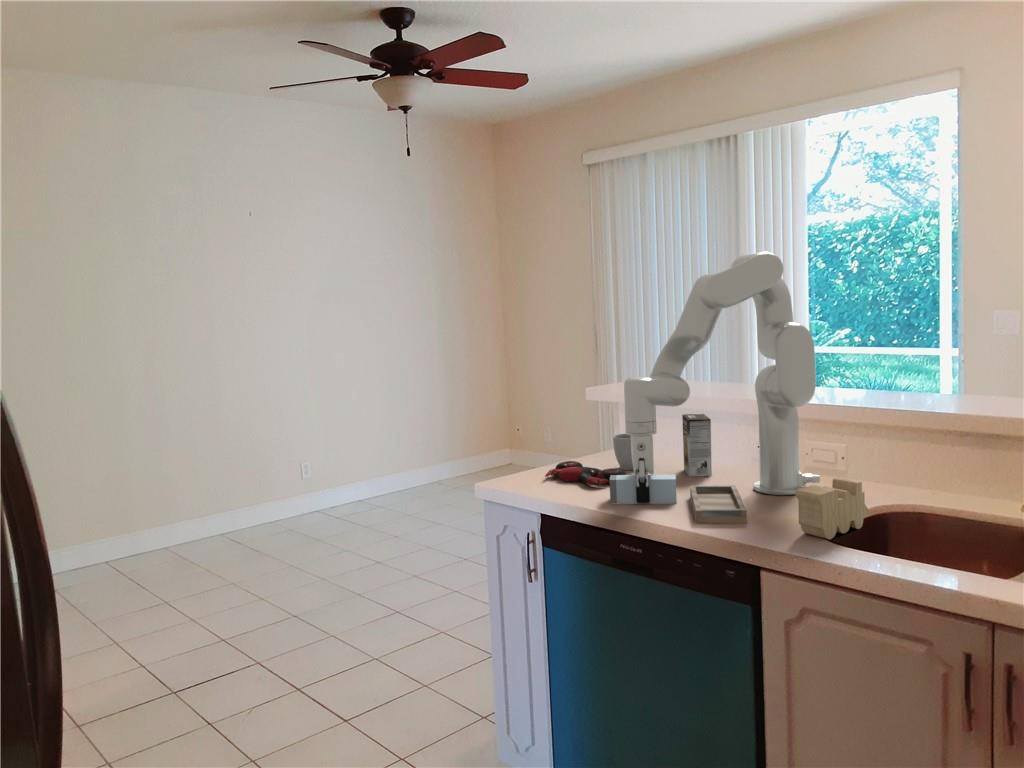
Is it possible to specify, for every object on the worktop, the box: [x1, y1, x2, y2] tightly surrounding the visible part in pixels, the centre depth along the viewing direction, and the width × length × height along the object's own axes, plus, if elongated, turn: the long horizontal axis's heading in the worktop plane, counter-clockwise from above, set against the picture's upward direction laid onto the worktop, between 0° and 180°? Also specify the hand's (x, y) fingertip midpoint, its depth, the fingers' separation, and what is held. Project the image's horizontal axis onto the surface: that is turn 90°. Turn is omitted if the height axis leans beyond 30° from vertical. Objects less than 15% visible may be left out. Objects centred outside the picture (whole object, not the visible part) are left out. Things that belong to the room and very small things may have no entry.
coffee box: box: [682, 413, 713, 477], centre depth 220 cm, size 9×6×16 cm
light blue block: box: [609, 474, 678, 505], centre depth 194 cm, size 16×5×6 cm, turn 80°
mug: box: [612, 432, 633, 471], centre depth 231 cm, size 12×9×10 cm
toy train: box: [794, 477, 870, 540], centre depth 163 cm, size 6×17×10 cm, turn 124°
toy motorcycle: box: [544, 460, 628, 486], centre depth 219 cm, size 25×5×16 cm
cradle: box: [689, 484, 748, 525], centre depth 183 cm, size 22×11×3 cm, turn 170°
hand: (643, 498), depth 194 cm, fingers open, 5 cm apart
